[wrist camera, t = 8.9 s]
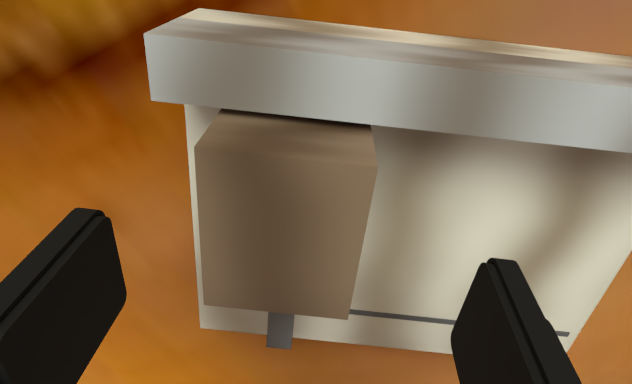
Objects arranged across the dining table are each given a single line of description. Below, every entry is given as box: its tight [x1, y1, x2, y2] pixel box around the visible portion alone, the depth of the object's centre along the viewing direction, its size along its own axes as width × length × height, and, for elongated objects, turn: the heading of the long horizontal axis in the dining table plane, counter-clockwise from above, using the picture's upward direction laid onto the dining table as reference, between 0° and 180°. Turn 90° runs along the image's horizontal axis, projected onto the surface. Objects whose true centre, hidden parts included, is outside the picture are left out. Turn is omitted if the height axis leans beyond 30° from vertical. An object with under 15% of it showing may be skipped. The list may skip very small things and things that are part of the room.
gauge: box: [194, 108, 378, 350], centre depth 16 cm, size 5×12×5 cm, turn 174°
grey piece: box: [144, 8, 632, 354], centre depth 18 cm, size 20×16×6 cm
